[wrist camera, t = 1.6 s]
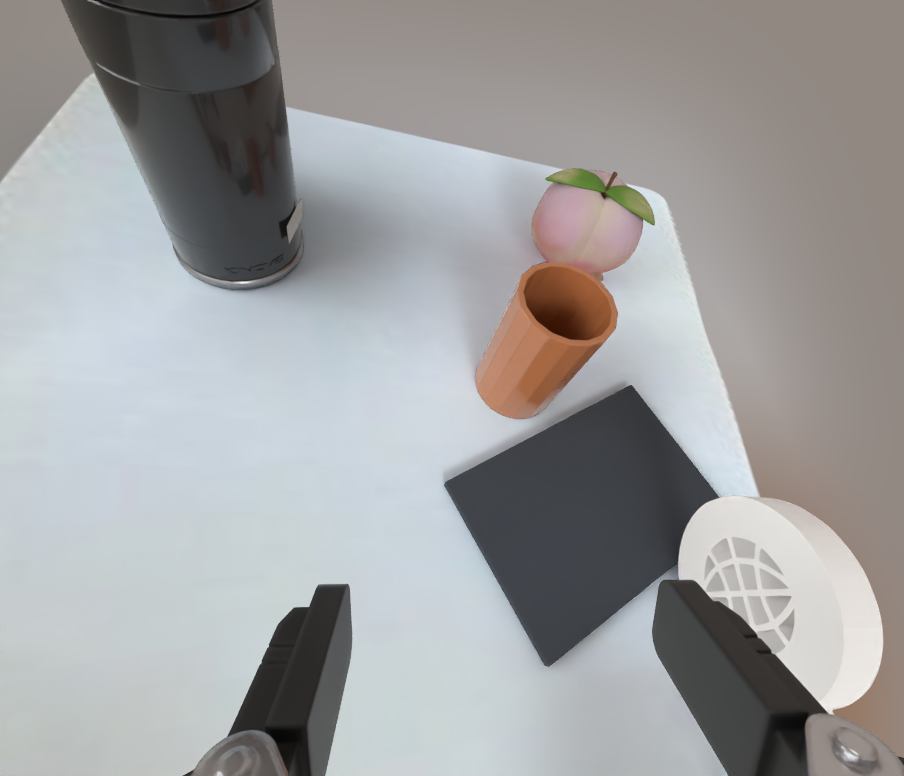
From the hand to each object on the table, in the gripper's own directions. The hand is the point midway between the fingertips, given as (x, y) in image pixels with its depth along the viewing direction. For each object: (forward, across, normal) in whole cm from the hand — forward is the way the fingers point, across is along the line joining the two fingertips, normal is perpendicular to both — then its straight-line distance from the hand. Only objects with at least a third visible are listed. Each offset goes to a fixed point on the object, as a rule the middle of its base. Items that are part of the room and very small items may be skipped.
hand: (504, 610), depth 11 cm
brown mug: (+24, -5, -1) cm, 25 cm away
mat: (+18, -10, +7) cm, 22 cm away
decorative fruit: (+34, -10, -10) cm, 37 cm away
